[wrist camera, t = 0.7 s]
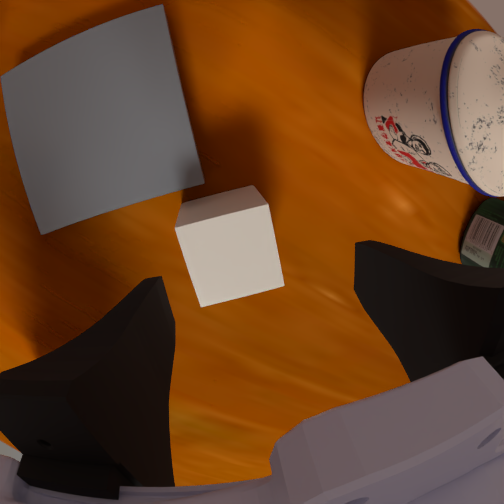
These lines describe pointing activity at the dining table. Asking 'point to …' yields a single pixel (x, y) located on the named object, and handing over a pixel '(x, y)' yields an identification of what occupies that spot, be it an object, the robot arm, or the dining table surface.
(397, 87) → the teacup with lid
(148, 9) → the slate block
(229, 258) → the cream cube
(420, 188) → the dining table surface
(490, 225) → the coffee jar
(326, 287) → the dining table surface
